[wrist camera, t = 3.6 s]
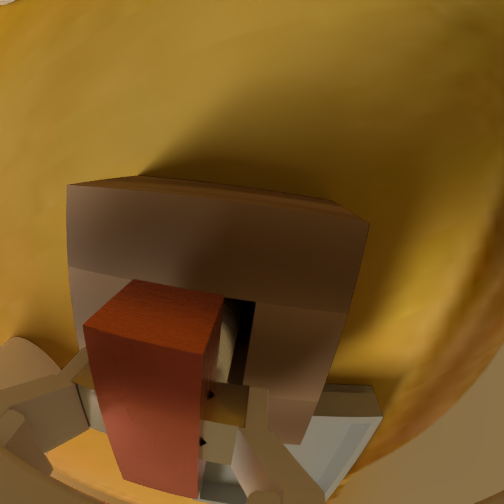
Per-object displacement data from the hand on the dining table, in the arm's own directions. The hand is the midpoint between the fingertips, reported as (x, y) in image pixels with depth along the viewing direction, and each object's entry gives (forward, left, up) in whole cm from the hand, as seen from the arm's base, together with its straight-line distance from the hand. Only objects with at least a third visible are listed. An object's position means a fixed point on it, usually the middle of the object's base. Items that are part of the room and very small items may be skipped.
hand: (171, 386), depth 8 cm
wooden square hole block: (0, 0, -8) cm, 8 cm away
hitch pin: (0, 0, -8) cm, 8 cm away
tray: (+13, +5, -8) cm, 16 cm away
